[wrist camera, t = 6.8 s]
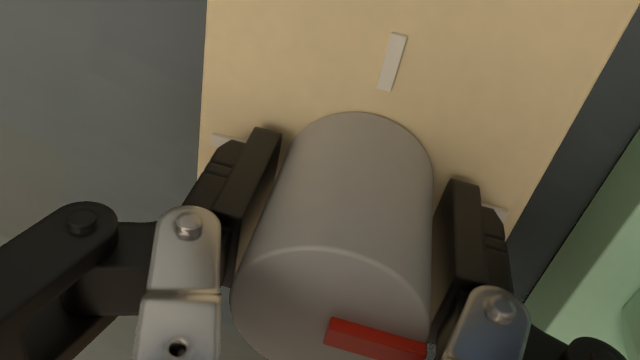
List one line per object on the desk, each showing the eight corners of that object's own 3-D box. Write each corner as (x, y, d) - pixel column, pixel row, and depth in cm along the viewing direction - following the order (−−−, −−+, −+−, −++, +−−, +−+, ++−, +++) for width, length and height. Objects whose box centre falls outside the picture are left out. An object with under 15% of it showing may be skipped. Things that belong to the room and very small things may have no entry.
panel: (252, -127, 13) (209, -107, 11) (606, -39, 13) (647, 1, 11) (219, 221, 21) (188, 281, 18) (445, 282, 20) (446, 351, 18)
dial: (274, 209, 16) (214, 364, 11) (300, 92, 13) (235, 233, 9) (406, 247, 16) (393, 417, 11) (456, 136, 13) (463, 299, 9)
